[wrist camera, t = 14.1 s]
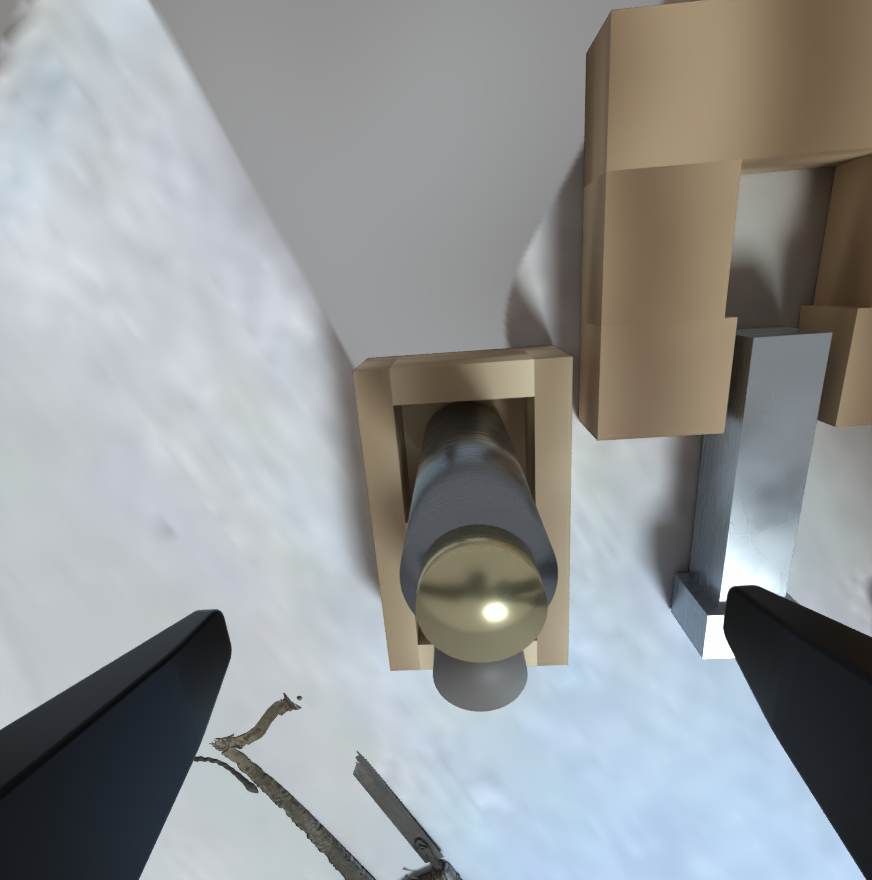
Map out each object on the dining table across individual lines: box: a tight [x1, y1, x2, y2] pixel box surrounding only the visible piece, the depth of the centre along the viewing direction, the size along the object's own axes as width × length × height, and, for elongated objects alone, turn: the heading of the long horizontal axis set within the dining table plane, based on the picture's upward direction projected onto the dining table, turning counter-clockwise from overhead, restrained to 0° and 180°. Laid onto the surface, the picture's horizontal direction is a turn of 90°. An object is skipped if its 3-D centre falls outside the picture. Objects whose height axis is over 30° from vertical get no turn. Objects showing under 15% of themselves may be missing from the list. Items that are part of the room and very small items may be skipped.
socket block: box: [579, 0, 872, 441], centre depth 15 cm, size 12×12×2 cm
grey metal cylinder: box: [399, 401, 558, 663], centre depth 13 cm, size 3×3×10 cm
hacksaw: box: [194, 693, 462, 880], centre depth 26 cm, size 24×10×2 cm, turn 31°
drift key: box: [671, 326, 833, 659], centre depth 18 cm, size 4×12×3 cm, turn 4°
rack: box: [352, 345, 573, 711], centre depth 17 cm, size 7×12×7 cm, turn 4°
